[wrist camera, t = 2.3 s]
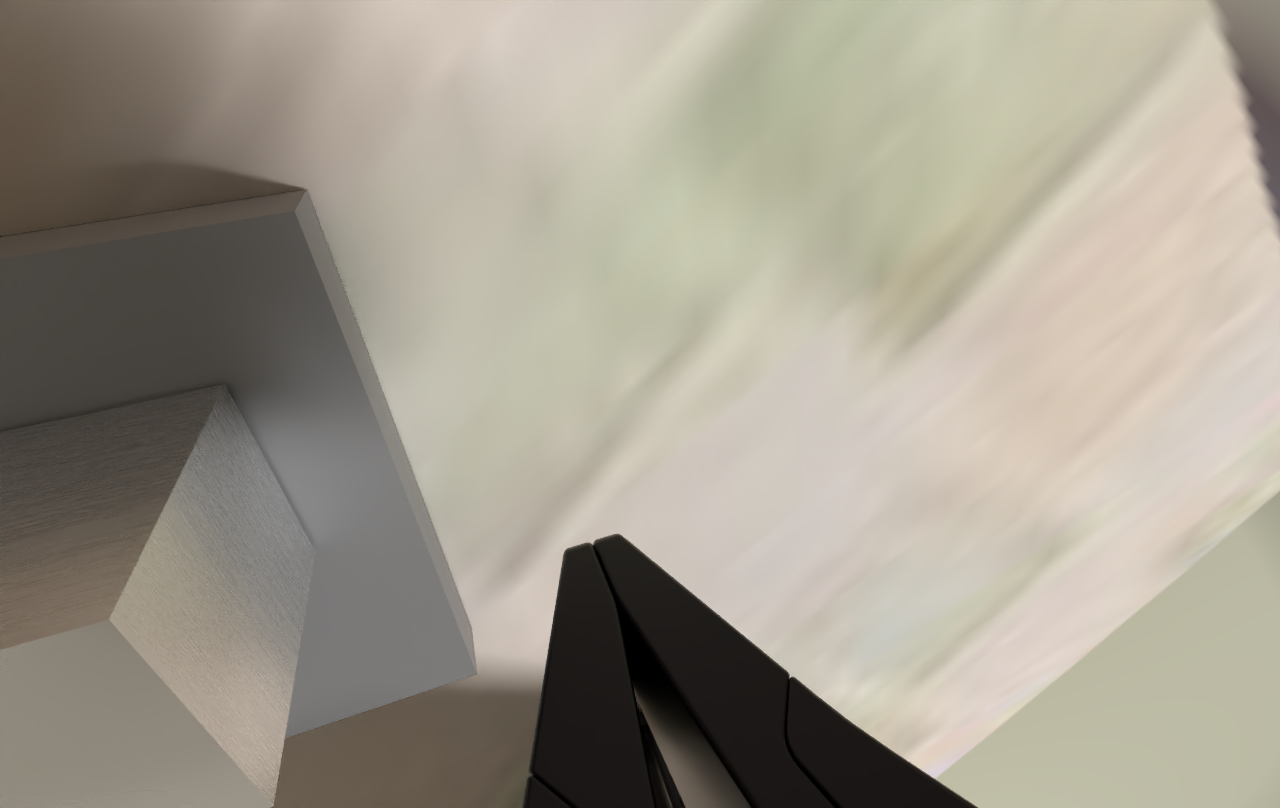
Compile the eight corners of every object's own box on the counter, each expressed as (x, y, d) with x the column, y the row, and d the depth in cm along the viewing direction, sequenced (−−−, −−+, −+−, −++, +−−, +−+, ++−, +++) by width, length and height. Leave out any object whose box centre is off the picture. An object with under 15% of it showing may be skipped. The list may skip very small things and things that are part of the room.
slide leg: (364, 642, 14) (349, 892, 10) (170, 703, 13) (68, 1004, 9) (225, 383, 10) (108, 619, 6) (-63, 445, 9) (-417, 767, 5)
